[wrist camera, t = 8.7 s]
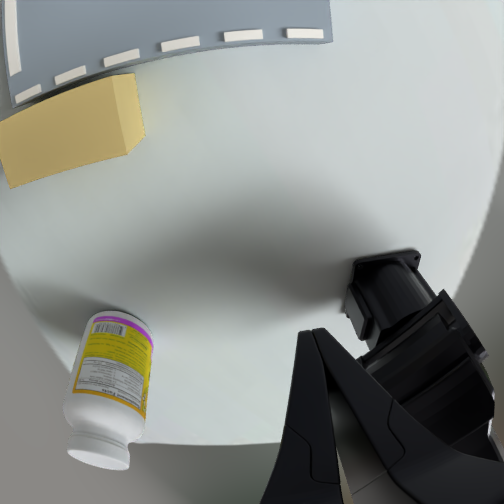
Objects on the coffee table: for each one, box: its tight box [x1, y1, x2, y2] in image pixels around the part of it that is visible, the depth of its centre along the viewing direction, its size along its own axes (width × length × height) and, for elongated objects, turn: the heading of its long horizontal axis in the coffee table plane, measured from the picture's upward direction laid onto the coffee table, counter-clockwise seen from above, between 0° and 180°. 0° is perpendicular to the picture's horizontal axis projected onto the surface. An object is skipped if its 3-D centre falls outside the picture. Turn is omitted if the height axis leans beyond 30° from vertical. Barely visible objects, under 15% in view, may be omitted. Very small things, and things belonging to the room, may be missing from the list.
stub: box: [0, 73, 146, 189], centre depth 13 cm, size 8×4×4 cm, turn 95°
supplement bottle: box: [63, 311, 154, 470], centre depth 20 cm, size 7×7×13 cm
